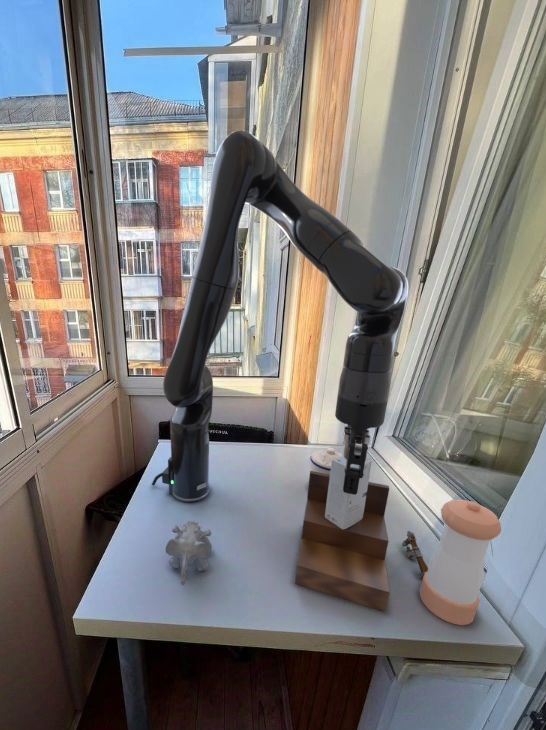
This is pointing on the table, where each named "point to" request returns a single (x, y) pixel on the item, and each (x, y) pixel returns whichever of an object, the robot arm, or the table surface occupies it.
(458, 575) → the salt shaker
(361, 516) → the cosmetic box
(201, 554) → the elephant statuette
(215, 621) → the table surface
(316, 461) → the teacup with lid
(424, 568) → the wooden post with brackets
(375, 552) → the shelf riser
